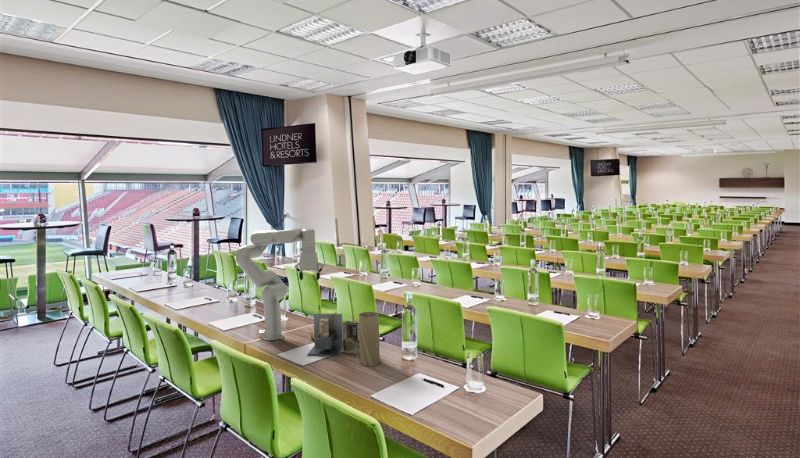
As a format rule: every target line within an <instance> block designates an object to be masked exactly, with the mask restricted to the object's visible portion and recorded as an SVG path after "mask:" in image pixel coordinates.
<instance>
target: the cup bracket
mask: <svg viewBox="0 0 800 458" xmlns="http://www.w3.org/2000/svg"><path fill="white" fill-rule="evenodd" d="M321 319H328V321H329V338H320V322H319V321H320V320H321ZM343 321H344V320H343V313H324V312H323V313H318V312H317V313H316V312H314V313H313V333H314V339H313V340H314V342H313V343H314V346H313V347H311V349H310V350H309V352H308V353H307V354H306V355H307V356H308V357H309V356H310V357H338V355H339V353H341V351H342V350H343V328H342V324H343V323H344V322H343Z"/></svg>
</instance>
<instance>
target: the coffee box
mask: <svg viewBox="0 0 800 458" xmlns="http://www.w3.org/2000/svg"><path fill="white" fill-rule="evenodd" d="M358 322H359V320H358V321H355V320H346V321H345V322H343V324H342V328H343V348H342V351H343V353H344V354H345V353H346V354H355V355H360V340H359V323H358Z"/></svg>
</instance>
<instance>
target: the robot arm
mask: <svg viewBox="0 0 800 458" xmlns="http://www.w3.org/2000/svg"><path fill="white" fill-rule="evenodd" d="M249 238H250V242H251V244H246V245H243V246H241V247H239V248H237V250H236V252H235V261H236V264H237V265H238V266H239V267H240V269H241V270H242V271H243V272H244V273H245V274H246V275H247V277H248V279H250V281H251V282H252V283H253V285H255V287H257V288H260V289H261V288H264V287H265V288H264V289H263V290H262V292H261V298H262V302H263V313H264V315H263V317H264V330H262V329H259V330H258V334H259V335H262V339H263V340H265V341H278V340H281V339H283V338H285V333H283V332H282V314H281V304H280V301H279V300H280V299H282V298H284V297H286V296H287V294H288V288H287V285H286V284H285V283H284V282H283V281H282V279H281V278H280V277H279V275H278V274H277V273H276V272H274V271H273V270H272V269H265V270H263V269H262V268H261V267H260V266H259V264H258V263H256V262H255V261H254V260H252V259H255V258H258V257H260V256H261V255H262V254H263V253H264V252H265V250H266V249H267V248H268V246H269V245H279V244H291V243H296V242H301V248H299V251H300V255H299V256H300V257H299V263H296V264H295V265H294V269H296V271H297V272H298V274H299V275H298V276H299V278H298V279H299V280H300V281H302V280H304V273H303V271H315V272H316V274H315V275H316V276H315V278H316V281H318V280H320V279H321V272H322V271H323V269H324V268H325V265H324V264H322V263H321V262H319V258H318V257H319V256H318V253H317V251H316V231H315V229H313V228H301V227H297V228H291V229H283V230H277V229H267V230H266V229H263V230H257V231H254V232H253V233H252V234H251V236H250V237H249ZM319 267H320V268H319Z"/></svg>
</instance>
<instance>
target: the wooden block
mask: <svg viewBox="0 0 800 458" xmlns="http://www.w3.org/2000/svg"><path fill="white" fill-rule="evenodd" d="M319 322H320V338H329V321H328V319H321V320H320V321H319Z"/></svg>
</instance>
